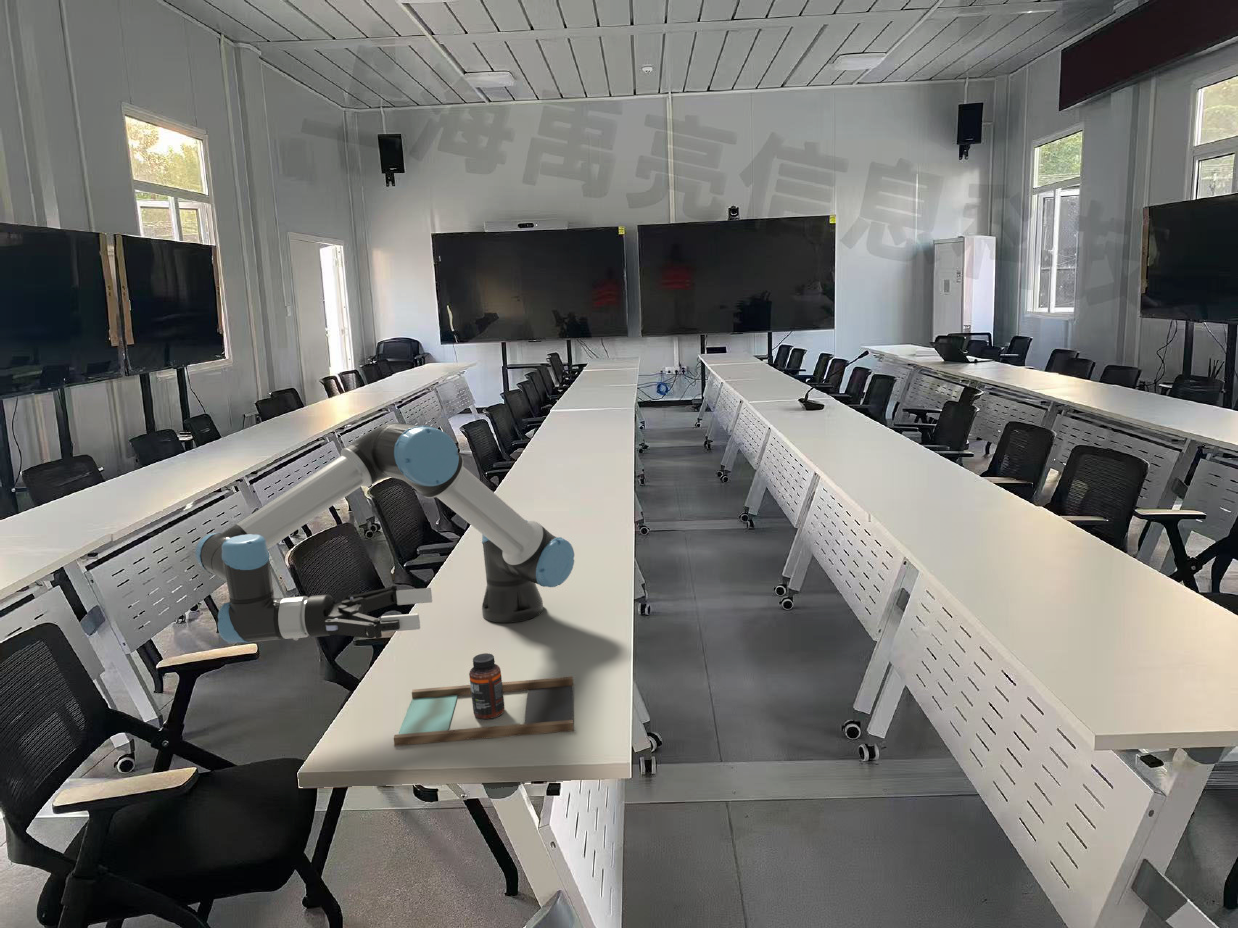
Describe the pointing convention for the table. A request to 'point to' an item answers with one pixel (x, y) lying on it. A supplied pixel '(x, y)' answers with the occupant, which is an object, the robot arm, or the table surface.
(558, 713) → the channel track
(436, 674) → the table surface
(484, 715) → the supplement bottle
